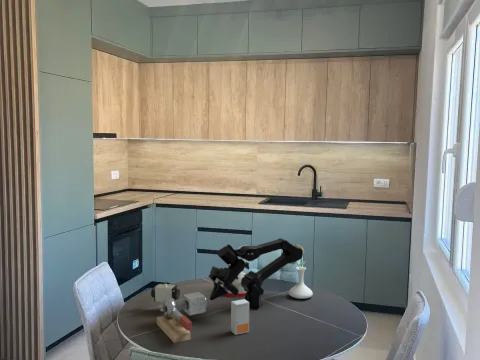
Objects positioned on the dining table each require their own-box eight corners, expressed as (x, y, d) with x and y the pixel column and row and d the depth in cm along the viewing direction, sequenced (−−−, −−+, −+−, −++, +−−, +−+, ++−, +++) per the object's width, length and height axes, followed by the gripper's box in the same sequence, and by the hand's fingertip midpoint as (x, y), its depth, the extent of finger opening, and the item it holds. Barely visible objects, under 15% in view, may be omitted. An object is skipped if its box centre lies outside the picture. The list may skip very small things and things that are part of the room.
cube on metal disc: (200, 306, 190) (200, 291, 189) (207, 311, 184) (207, 296, 184) (183, 310, 186) (183, 294, 185) (189, 315, 180) (189, 299, 180)
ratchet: (185, 310, 187) (185, 292, 186) (209, 331, 166) (209, 312, 165) (161, 315, 182) (161, 296, 181) (183, 337, 161) (183, 317, 160)
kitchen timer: (225, 287, 226) (225, 258, 224) (252, 288, 224) (252, 259, 222) (220, 296, 212) (220, 265, 211) (248, 297, 210) (248, 266, 209)
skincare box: (235, 335, 169) (235, 304, 168) (230, 331, 173) (230, 301, 172) (249, 332, 172) (249, 302, 171) (244, 328, 176) (244, 298, 175)
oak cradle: (173, 320, 183) (172, 308, 183) (191, 339, 166) (191, 325, 165) (156, 323, 180) (156, 311, 179) (174, 343, 162) (174, 329, 162)
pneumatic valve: (176, 313, 190) (176, 286, 189) (151, 311, 193) (150, 284, 192) (181, 309, 196) (180, 282, 195) (156, 306, 198) (156, 280, 197)
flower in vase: (316, 295, 213) (317, 243, 211) (306, 302, 203) (307, 248, 202) (292, 290, 220) (292, 240, 218) (281, 297, 211) (281, 245, 209)
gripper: (212, 254, 197) (189, 282, 193) (232, 264, 181) (207, 295, 177) (228, 269, 202) (205, 297, 197) (248, 280, 186) (225, 311, 181)
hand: (210, 299), depth 188 cm, fingers closed
